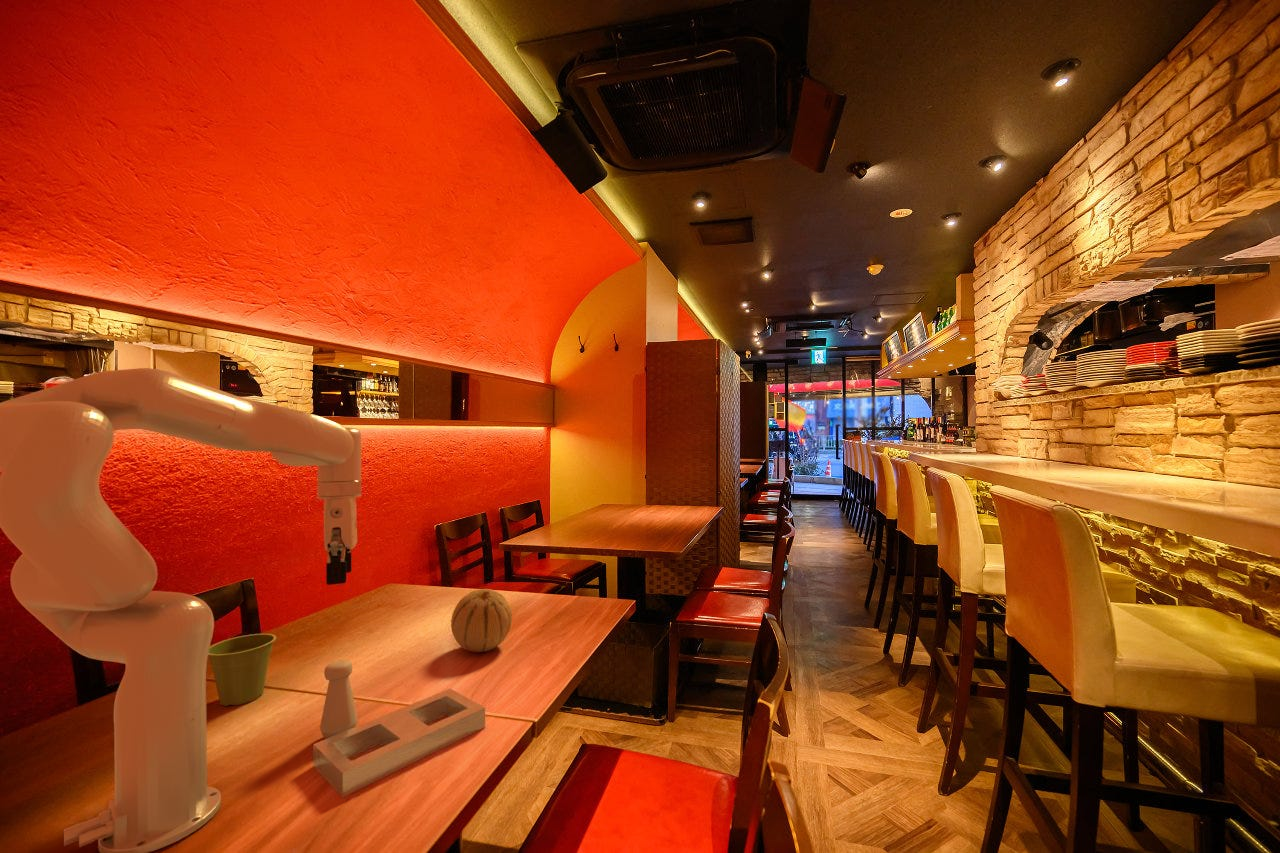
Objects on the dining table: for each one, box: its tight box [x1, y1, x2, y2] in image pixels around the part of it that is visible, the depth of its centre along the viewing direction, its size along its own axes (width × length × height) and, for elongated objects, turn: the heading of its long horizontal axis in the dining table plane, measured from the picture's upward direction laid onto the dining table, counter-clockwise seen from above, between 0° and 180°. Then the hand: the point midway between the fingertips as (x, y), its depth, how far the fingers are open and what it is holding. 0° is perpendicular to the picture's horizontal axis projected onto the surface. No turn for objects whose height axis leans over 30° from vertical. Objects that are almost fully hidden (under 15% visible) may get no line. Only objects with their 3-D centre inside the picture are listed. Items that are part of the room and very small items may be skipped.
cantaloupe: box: [450, 588, 513, 653], centre depth 133 cm, size 15×15×15 cm
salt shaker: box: [319, 659, 359, 740], centre depth 95 cm, size 6×6×13 cm
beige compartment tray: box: [312, 688, 486, 798], centre depth 91 cm, size 24×12×4 cm, turn 139°
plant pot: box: [208, 633, 277, 707], centre depth 110 cm, size 12×12×11 cm
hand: (339, 578), depth 104 cm, fingers open, 9 cm apart
